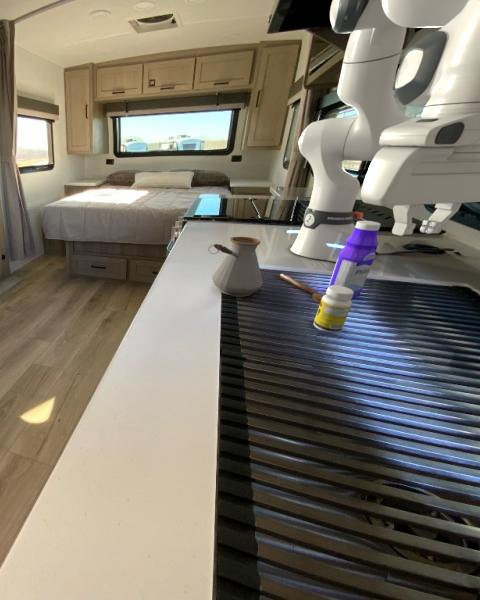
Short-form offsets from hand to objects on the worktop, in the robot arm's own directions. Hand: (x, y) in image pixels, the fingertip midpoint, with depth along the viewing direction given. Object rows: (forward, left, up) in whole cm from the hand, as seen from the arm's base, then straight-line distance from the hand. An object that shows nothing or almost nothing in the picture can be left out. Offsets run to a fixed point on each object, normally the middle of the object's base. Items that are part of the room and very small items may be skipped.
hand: (414, 233), depth 50 cm
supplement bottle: (0, -8, -21) cm, 23 cm away
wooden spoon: (-9, -25, -21) cm, 34 cm away
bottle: (-16, -21, -21) cm, 34 cm away
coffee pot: (+12, -25, -21) cm, 35 cm away
